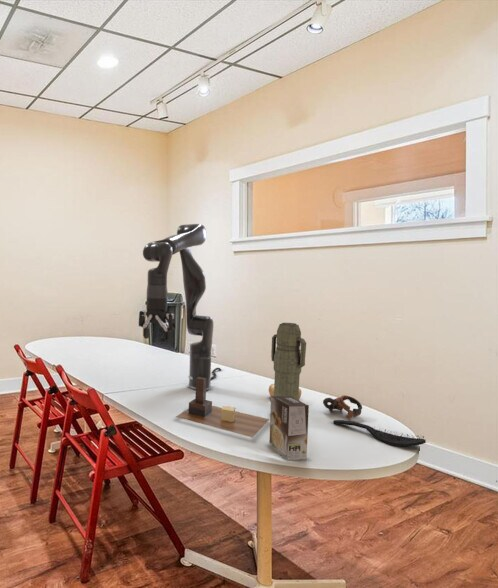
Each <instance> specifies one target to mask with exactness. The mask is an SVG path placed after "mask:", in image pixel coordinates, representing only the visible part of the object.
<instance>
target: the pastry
mask: <svg viewBox="0 0 498 588" xmlns="http://www.w3.org/2000/svg"><path fill="white" fill-rule="evenodd" d="M268 394H269V397H270V398H271V397H272V396H273V395H274V383H271V384H270V385H269V386H268ZM301 397H302V389H300V388H299V400H300V399H301Z"/></svg>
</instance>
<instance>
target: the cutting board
mask: <svg viewBox="0 0 498 588" xmlns="http://www.w3.org/2000/svg"><path fill="white" fill-rule="evenodd" d="M221 409H222V407H218V406H214V405H212V412H211V413H209V414H208V415H207V416H205V417H202V416H198V415H194V414H191V413H189V408H187V409H185V410H184V411H181V413H179V414H177V415H176V416H175V418H179V419H182V420H186V421H189V422H194V423H197V424H202V425H205V426H209V427H212V428H216V429H220V430H223V431H227V432H230V433H234V434H238V435H242V436H246V437H250V438H254V437H255V435H257V433H258V432H259V431H260V430H262V428H263V427H264V426H265V425H266V424H267V423H268V422H269V421H270V418H265V417H261V416H257V415H253V414H249V413H244V412H240V411H236V410H235V419H234V421H233V422H229V421H224V420H221Z"/></svg>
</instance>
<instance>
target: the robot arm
mask: <svg viewBox="0 0 498 588" xmlns="http://www.w3.org/2000/svg"><path fill="white" fill-rule="evenodd" d="M206 239H207V229H206V227H205V226H204V225H203V224H201V223H188V224H187V223H186V224H180V225H179V226H178V227H177V230H176V234H173V235H169V236H167V237H165V238H163V239H159V240H154V241H149V242H148V243H146V244H145V246H143V249H142V256H143V258H144V260H145V261H147V262H149V263H157V262H158V264H157V266H156V267H152V268H149V269H148V270H147V280H146V281H147V286H146V306H145V307H146V310H140V311H139V313H138V327H141V328H142V332H143V333H142V336H143V338H144V339H149V338H150V328H149V327H151V325H153V324H156V325H160V327H161V328H162V329H163V330H164V331H163V341H164V342H165V343H166V342H169V341H170V340H171V331H175V330H176V314H175V313H168V272H169V269H170V264H171V261H172V258H173V255H176V254H178V253H179V256H180V262H181V269H182V270H181V271H182V282H183V283H182V284H183V290H184V299H185V314H186V317H185V319H186V320H185V323H186V331H187V333H188V334H189V335H191V336H198V337H201V339H200V341H195V342H192V343H190V345H189V368H188V371H189V372H188V388H189V389H192V390H194V391H196V378H198V377H203V378H206V391H209V390H211V380H213V379H215V378H216V377H217V374H216V371H222V369H221V367H216V368H214V369H212V348H213V337H214V320H213V318H212V317H211V316H208V315H198V314H197V306H198V304H199V302H200V300H201V299H202V298H203V296H204V294H205V292H206V289H207V284H206V283H207V282H206V274H205V272H204V270H203V269H202V267H201V266H200V265H199V263H198V262H197V260H196V259H195V258H194V256H193V254H192V251H191V248H192V247H197V246H198V247H199V246H202V245H203V244H204V243H205V242H206ZM146 317H147V318H146ZM211 374H212V375H211Z"/></svg>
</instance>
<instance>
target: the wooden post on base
mask: <svg viewBox="0 0 498 588" xmlns="http://www.w3.org/2000/svg"><path fill="white" fill-rule="evenodd" d="M212 406H213V401H212V400H208V399H207V390H206V378H203V377H198V378H196V390H195V398H193V399H192V400H191V401H189V402H188V409H189V413H191V414H194V415H198V416H202V417H205V416H207V415H208V414H209V413H211V412H212Z"/></svg>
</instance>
